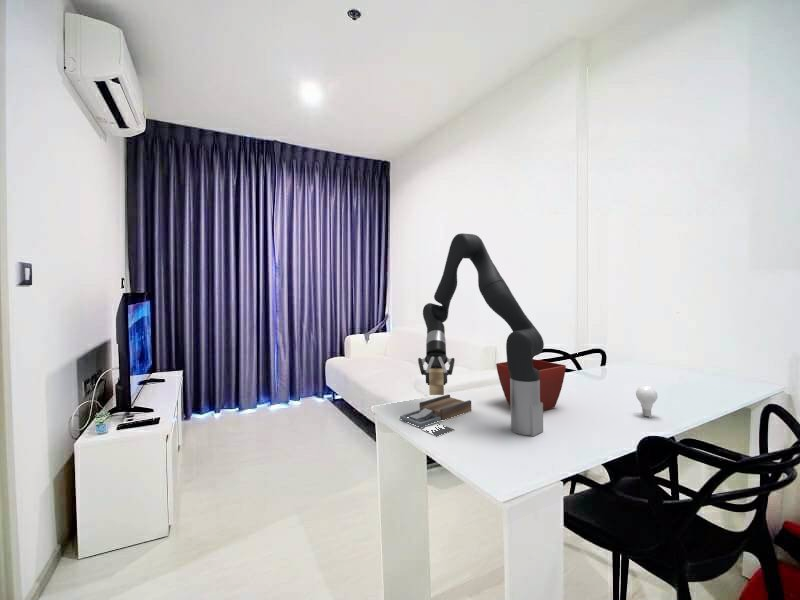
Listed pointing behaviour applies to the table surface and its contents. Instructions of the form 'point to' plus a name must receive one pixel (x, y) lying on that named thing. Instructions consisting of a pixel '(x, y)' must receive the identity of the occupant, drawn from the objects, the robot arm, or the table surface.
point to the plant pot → (548, 381)
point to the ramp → (446, 406)
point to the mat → (441, 430)
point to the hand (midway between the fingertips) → (436, 383)
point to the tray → (430, 420)
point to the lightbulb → (646, 399)
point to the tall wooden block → (436, 381)
